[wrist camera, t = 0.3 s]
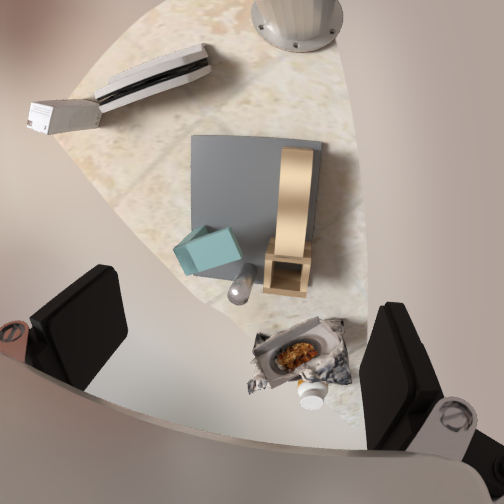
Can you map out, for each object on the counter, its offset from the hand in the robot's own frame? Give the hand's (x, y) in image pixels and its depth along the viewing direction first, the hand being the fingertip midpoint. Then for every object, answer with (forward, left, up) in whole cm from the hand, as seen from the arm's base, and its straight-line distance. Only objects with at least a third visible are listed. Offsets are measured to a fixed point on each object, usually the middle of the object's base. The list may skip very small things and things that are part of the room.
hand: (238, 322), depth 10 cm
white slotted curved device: (-14, -20, -34) cm, 42 cm away
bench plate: (+6, -5, -34) cm, 35 cm away
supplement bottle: (+34, +8, -34) cm, 49 cm away
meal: (+26, +4, -34) cm, 43 cm away
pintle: (+15, -5, -33) cm, 36 cm away
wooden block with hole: (+5, +1, -33) cm, 33 cm away
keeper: (+9, -9, -33) cm, 35 cm away
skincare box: (-10, -34, -34) cm, 49 cm away
